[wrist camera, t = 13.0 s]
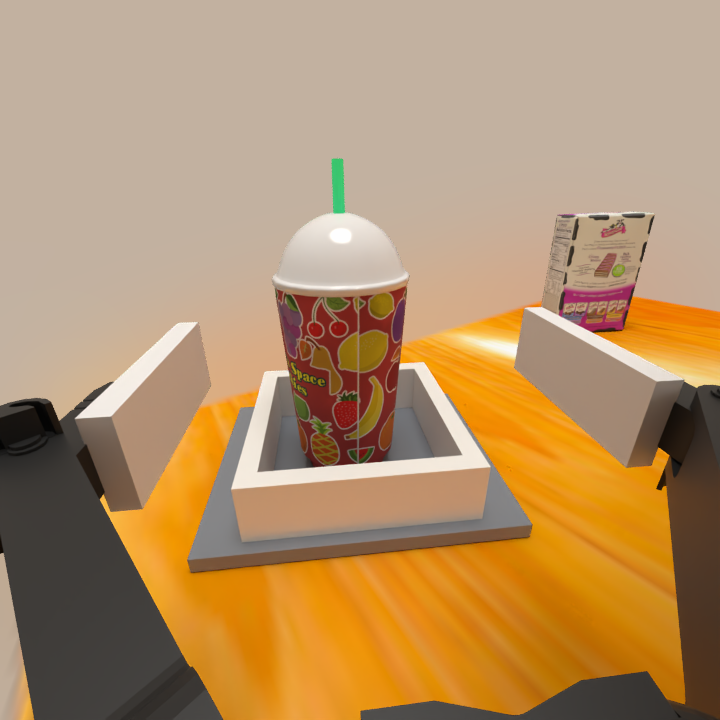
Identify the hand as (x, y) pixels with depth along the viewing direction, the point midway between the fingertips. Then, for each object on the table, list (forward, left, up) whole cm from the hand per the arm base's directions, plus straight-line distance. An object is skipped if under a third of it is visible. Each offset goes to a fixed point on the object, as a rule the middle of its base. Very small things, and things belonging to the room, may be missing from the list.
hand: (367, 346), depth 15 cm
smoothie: (+1, -9, -13) cm, 16 cm away
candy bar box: (-37, -36, -14) cm, 54 cm away
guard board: (0, -9, -14) cm, 16 cm away
